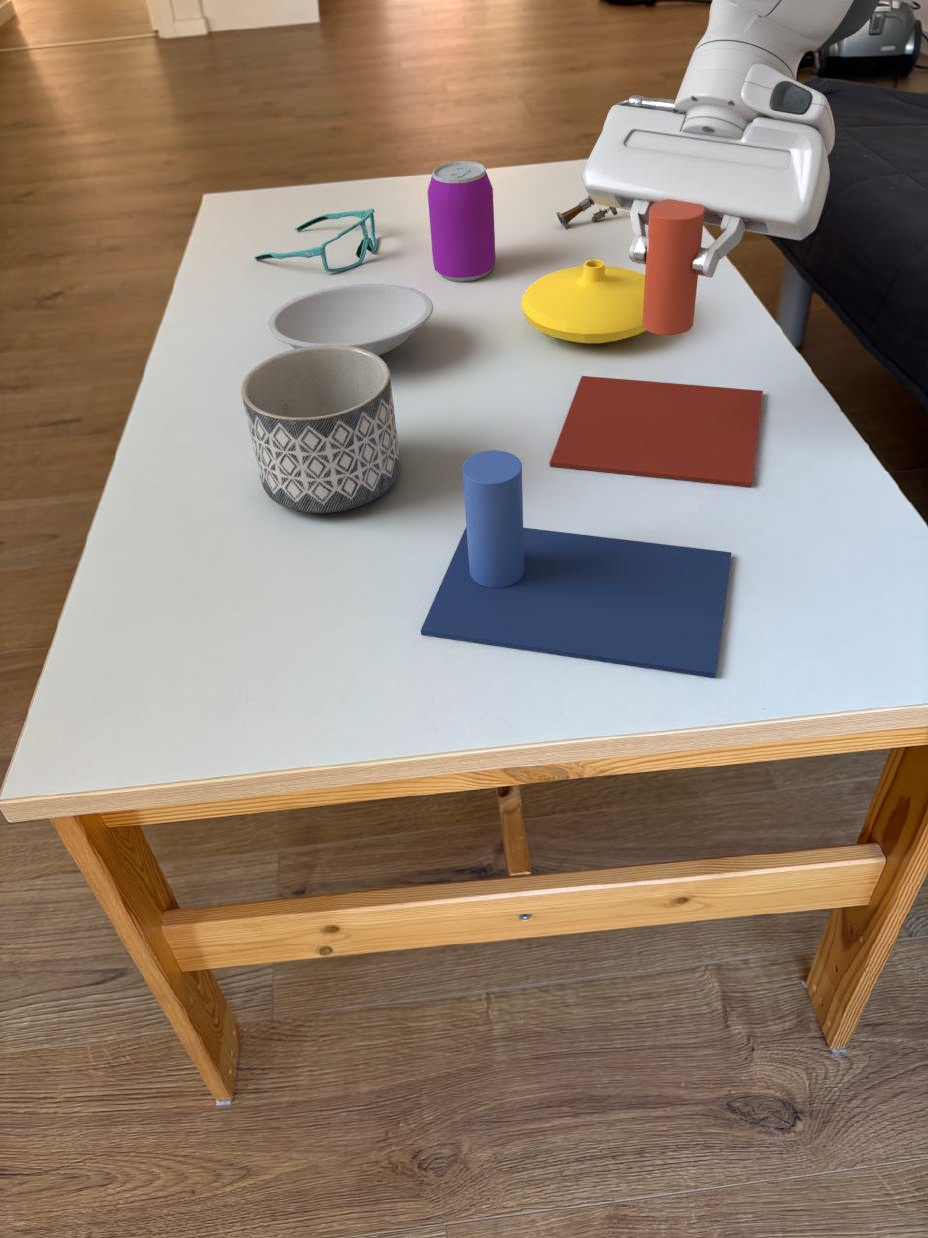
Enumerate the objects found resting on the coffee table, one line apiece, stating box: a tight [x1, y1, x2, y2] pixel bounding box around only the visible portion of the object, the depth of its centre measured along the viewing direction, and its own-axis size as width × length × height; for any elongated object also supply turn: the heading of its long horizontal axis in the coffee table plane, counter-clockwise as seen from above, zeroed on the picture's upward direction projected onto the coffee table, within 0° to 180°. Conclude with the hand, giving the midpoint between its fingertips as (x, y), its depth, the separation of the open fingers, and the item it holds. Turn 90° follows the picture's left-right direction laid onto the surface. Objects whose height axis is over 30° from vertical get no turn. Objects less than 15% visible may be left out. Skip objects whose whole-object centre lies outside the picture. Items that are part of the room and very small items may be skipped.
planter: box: [240, 345, 401, 514], centre depth 90 cm, size 13×13×10 cm
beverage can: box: [427, 160, 496, 282], centre depth 122 cm, size 8×8×12 cm
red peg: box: [642, 199, 705, 336], centre depth 86 cm, size 4×4×10 cm
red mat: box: [549, 375, 764, 488], centre depth 97 cm, size 18×16×1 cm
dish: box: [266, 283, 434, 357], centre depth 110 cm, size 18×14×5 cm
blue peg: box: [462, 449, 524, 588], centre depth 79 cm, size 4×4×10 cm
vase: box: [520, 259, 647, 344], centre depth 111 cm, size 16×16×7 cm
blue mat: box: [420, 526, 732, 679], centre depth 80 cm, size 22×14×1 cm, turn 75°
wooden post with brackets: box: [555, 195, 619, 230], centre depth 134 cm, size 2×8×4 cm, turn 106°
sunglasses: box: [253, 207, 378, 273], centre depth 132 cm, size 14×15×5 cm
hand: (669, 267), depth 85 cm, fingers closed on red peg, 4 cm apart
